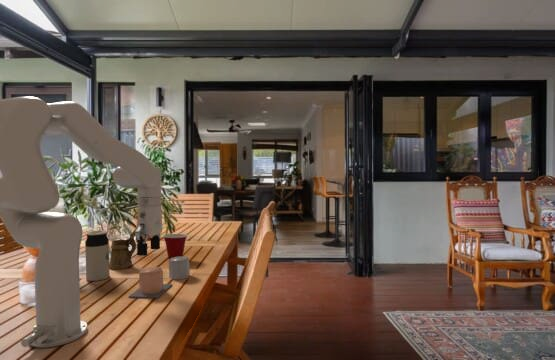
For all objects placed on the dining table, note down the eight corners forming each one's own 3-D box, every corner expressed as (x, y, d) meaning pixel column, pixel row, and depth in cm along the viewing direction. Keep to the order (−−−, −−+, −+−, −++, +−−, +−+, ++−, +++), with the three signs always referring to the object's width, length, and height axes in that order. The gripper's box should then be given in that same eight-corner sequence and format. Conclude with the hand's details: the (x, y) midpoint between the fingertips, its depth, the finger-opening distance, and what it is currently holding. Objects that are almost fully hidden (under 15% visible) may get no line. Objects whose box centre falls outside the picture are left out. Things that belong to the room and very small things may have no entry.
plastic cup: (192, 257, 158) (191, 232, 158) (180, 264, 148) (179, 237, 147) (171, 256, 161) (171, 231, 161) (158, 262, 151) (158, 236, 150)
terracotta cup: (156, 294, 112) (156, 273, 112) (136, 293, 113) (136, 273, 113) (165, 286, 119) (165, 267, 119) (146, 286, 120) (145, 266, 120)
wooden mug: (137, 269, 141) (136, 227, 140) (104, 270, 140) (103, 227, 140) (145, 263, 150) (144, 223, 149) (114, 263, 149) (113, 223, 148)
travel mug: (81, 281, 126) (80, 234, 126) (93, 274, 134) (92, 230, 134) (102, 281, 126) (101, 234, 125) (113, 274, 134) (112, 230, 133)
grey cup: (185, 279, 128) (184, 261, 128) (167, 279, 129) (166, 261, 128) (191, 273, 135) (191, 256, 135) (174, 273, 136) (173, 256, 135)
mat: (157, 298, 110) (157, 297, 110) (128, 297, 111) (128, 296, 111) (172, 285, 122) (172, 284, 122) (145, 284, 123) (145, 283, 123)
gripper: (148, 204, 106) (147, 258, 106) (170, 200, 123) (169, 247, 123) (125, 203, 106) (125, 257, 106) (150, 200, 124) (149, 246, 124)
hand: (148, 252), depth 115 cm, fingers open, 9 cm apart
